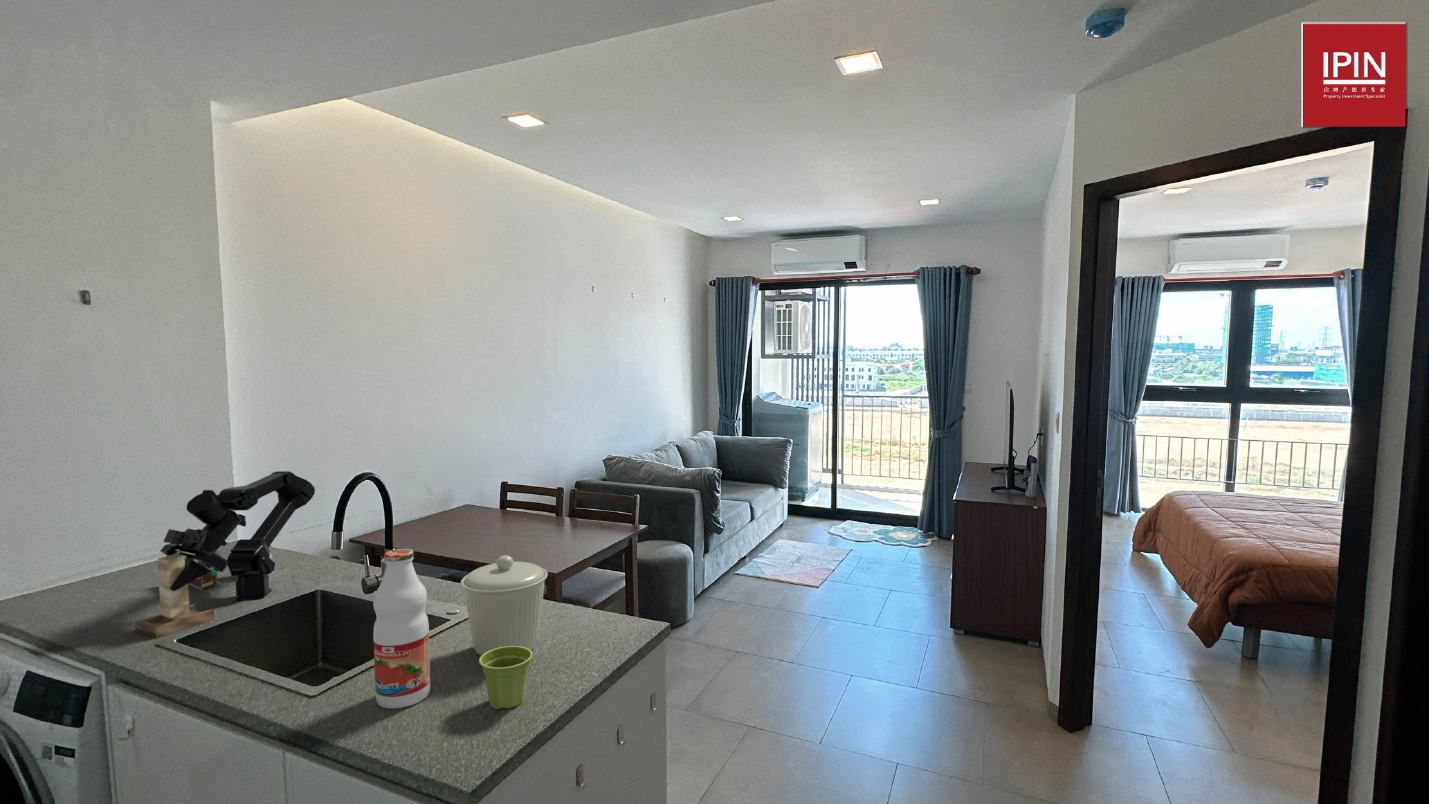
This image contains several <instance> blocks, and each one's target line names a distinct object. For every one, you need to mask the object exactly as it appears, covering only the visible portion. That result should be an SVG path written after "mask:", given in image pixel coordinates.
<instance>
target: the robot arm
mask: <svg viewBox="0 0 1429 804" xmlns="http://www.w3.org/2000/svg"><path fill="white" fill-rule="evenodd" d="M273 492H275V493H276V494H277V499H278V500H277V503H276V504H275V506H274V507H273V508H272V510H271V511H270V513H268V515H267V516H266V518H265V519H264V520H263V522H262V523H261V525H260V526H259V527H258V529H256V531H255V532H254V533H253V535H252V536H251V538H249V539H248V538H247V539H243V538H242V539H239V540H238V541H236V544H235V545H234V547H232V548H231V549H230V550H229V551H230V553H229V555H228V556H227V559H226V558H224V557H222V555H221V556H219V555H217V554H216V553H215V552H216V551H217V549H218V550H219V548H220V547H225V546H227V544H228V542H227V541H226V540H227V539H228V538H229V536H230V535H231V534H232V533H233V532H234V530H235V529H236V528H238V526H241V527H246V526H247V521H246V515H244V514H240V513H237V512H235V511H249V510H250V509H252V508H253V507H254V506H256V505H257V504H258V502H259V500H260V499H261V498H263V497H264V496H267V495H269V494H271V493H273ZM315 492H316V489H315V486H314V485H313V483H311V482H310V481H308V480H307V479H306V478H305V479H304V478H303V477H300V476H298V475H296V474H295V473H293V472H291V471H286V470H283V471H282V470H281V471H279V470H277V471H274V472H272V473H271V474H269V475H266V476H264V477H262V478H260V479H258V480H255V481H254V482H250V483H248V484H246V485H239V486H233V487H228V488H227V487H226V488H224V489H222V490H221V491H220V492H219V494H217V493H216V492H215V491H214V490H213V489H204V490H203V491H202V493H200V494H197V495H195V496H193V497H192V499H190V500H189V501H188V502H187V504H186V511H187V512H188V513H189V514H190V515H192V516H193V517H195V518H196V519H197V520H198V521H200V522H201V523H203V524H205V525H204V527H203V528H202V529H200V528H197V529H194V528H193V529H192V528H186V529H185V530H184V531H180V530H176V529H170V528H169V529H168V530H167V532H166V535H165V537H164V539H163V543H166V544H165V545H164V546H163V547H162V548H161V550H159V551H160V552H159V553H162V554H164V555H165V556H170V555H174V554H180V555H185V556H186V558H185V568H184V569H183V571H182V572H181V574H180V575H179V576H178V578H177V579H176V581H175V582H174V583H173V585H172V587H171V588H170V589H171V590H172V591H176V590H178V589H179V588H181V587H183V586H185V585H187V584H188V583H190V582H192V581H194V580H196V579H198V578H200V577H202V576H204V575H205V574H207V573H211V572H212V571H210V568H211V567H213V568H214V570H215V571H217V573H218V572H219V573H223V572H224V570H226V568H227V567H228V570H229V573H230V576H231V577H235V576H236V577H237V580H236V581H235V594H236V598H235V601H245V600H259V599H263V598H265V597H267V595H269V594H270V593H271V592H272V590H273V589H272V588H270V581H269V580H270V576H269V575H268V574H271V573H272V572H273V573H274V571H275V567H276V563H275V561H274V560H273V559H272V560H273V561H272V560H271V559H270V558H269V556H270V553H269V551H270V546H271V545H272V543H273V542H274V541H275V539H276V538H277V536H278V535H279V534H280V533H281V531H282V529H283V528H284V526H285V525H286V524H287V522H288V521H289V519H290V518H291V516H292V515H293V514H294V513H295V511H296V510H298V509H300V508H302V507H304V506H306V505H307V504H308V503H309V502H310V501H311V500H312V498H313V497H314V495H315ZM188 585H189V584H188Z"/></svg>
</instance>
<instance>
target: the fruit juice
mask: <svg viewBox="0 0 1429 804" xmlns="http://www.w3.org/2000/svg"><path fill="white" fill-rule="evenodd" d="M414 555H415V554H414V551H413V549H412V548H411V549H410V548H395V549H392V550H389V551H386V552H385V553H384V557H383V560H384V563H385V564H386V568H385V569H384V570H385V571H384V573H383V577H382V580H381V583H380V584H379V586H378V588H377V589H376V592H375V593H374V595H373V599H372V600H373V601H372V602H373V610H374V613H375V615H376V619H375V622H374V625H373V637H372V638H373V653H374V655H373V657H374V660H373V661H374V683H375V684H374V686H375V690H374V691H375V701H376V703H377V705H378V706H380V707H381V708H383V709H384V708H385V709H388V710H389V709H391V710H392V709H393V710H394V709H402V708H406V707H407V708H408V707H410V706H413V705H417V704H418V703H420V702H422V701H423V700H425V699H426V698H427V697H428V696H429V694H430V692H431V661H430V660H431V658H430V657H431V656H430V654H431V653H430V626H429V618H428V615H427V613H426V610H425V609H426V603H427V600H428V594H427V588H426V587H425V585H424V583H422V582H421V580H420V579H419V577H418V575H417V573H416V570H415V567H414V565H413V560H414Z"/></svg>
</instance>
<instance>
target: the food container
mask: <svg viewBox="0 0 1429 804" xmlns="http://www.w3.org/2000/svg"><path fill="white" fill-rule="evenodd" d="M215 553H216V554H217V555H219V556H221V557H222V555H221V552H220V550H219V548H218V549H217V551H216V552H215ZM210 571H212V572H211V573H207V574H205V575H204V576H202V577H200V578H198V579H196V580H194V581H192V582H190V583H188V585H189V584H190V585H189V586H192V587H194V588H196V589H198V590H201V591H204V590H208V589H210V588H213V587H215V586H216V585H217V584H218V571H215V570H214V568H213V567H211V568H210Z"/></svg>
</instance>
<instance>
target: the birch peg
mask: <svg viewBox="0 0 1429 804" xmlns="http://www.w3.org/2000/svg"><path fill="white" fill-rule="evenodd" d="M185 558H186V556H185V555H180V554H174V555H170V556H167V555H165V556H162V557H158V558H157V575H158V591H159V604H160V605H159V606H160V614H161V616H165V617H168V618H173V617H176V616H179V615H182V614H185V613H189V612H190V611H189V605H190V598H189V597H190V595H189V584H187V585H185V586H183V587H181V588H179V589H178V590H176V591H172V590H171V589H170V588H171V587H172V585H173V583H174V582H175V581H176V579H177V578H178V576H179V575H180V574H181V572H182V571H183V569H184V568H185Z"/></svg>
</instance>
